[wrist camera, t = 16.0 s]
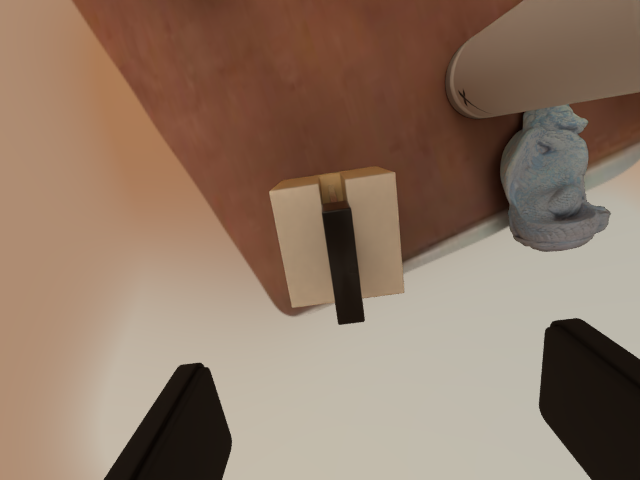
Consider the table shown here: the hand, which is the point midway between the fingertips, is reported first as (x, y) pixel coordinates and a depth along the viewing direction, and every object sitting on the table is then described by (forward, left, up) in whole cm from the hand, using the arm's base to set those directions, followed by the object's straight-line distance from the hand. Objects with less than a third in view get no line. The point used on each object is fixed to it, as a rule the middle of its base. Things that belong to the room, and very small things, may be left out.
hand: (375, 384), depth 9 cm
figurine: (-17, -2, -21) cm, 27 cm away
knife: (0, 0, -20) cm, 20 cm away
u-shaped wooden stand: (0, 0, -21) cm, 21 cm away
